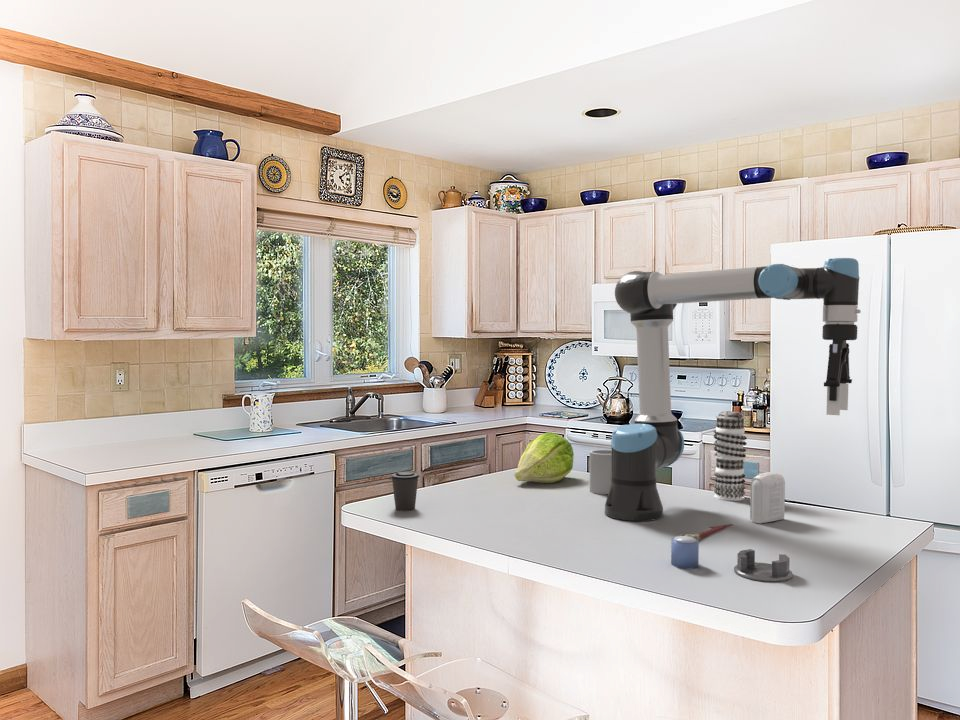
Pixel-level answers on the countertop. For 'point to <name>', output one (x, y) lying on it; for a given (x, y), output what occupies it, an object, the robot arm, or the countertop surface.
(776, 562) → the disc
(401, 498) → the coffee cup
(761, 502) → the photo printer
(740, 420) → the decorative candle
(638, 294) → the robot arm
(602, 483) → the cup
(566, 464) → the lettuce
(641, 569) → the countertop surface
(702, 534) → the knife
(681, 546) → the blue dome-topped cylinder
